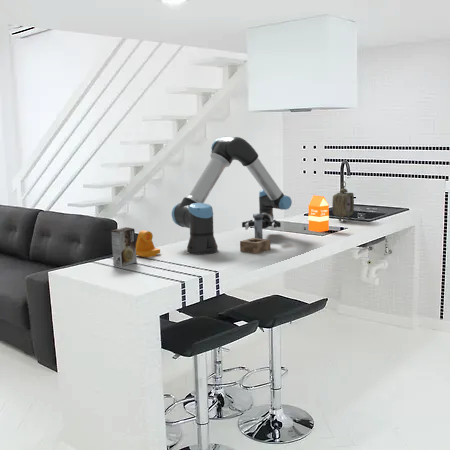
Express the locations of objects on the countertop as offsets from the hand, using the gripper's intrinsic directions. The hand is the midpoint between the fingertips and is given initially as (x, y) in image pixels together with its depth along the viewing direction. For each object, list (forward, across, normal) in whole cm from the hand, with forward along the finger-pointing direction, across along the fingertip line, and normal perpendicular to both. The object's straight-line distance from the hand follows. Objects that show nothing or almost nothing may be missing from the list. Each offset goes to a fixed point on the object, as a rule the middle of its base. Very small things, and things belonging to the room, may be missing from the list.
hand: (259, 227), depth 298 cm
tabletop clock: (-77, -43, -9) cm, 88 cm away
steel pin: (0, 0, -9) cm, 9 cm away
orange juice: (-44, -29, -10) cm, 53 cm away
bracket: (+26, +52, -10) cm, 58 cm away
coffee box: (+44, +57, -10) cm, 72 cm away
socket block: (+13, 0, -9) cm, 16 cm away
